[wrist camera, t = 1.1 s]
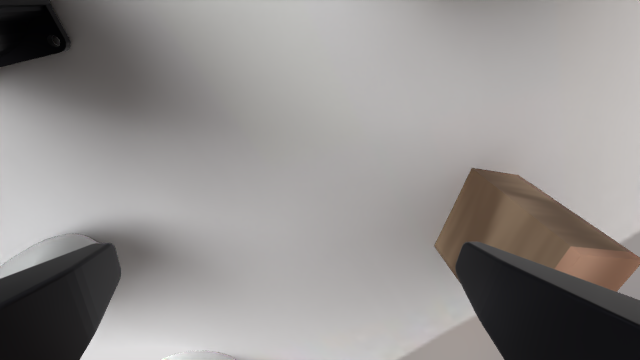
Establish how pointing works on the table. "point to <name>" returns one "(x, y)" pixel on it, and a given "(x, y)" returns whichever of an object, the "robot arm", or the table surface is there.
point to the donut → (44, 252)
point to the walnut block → (531, 230)
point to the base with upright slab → (199, 356)
